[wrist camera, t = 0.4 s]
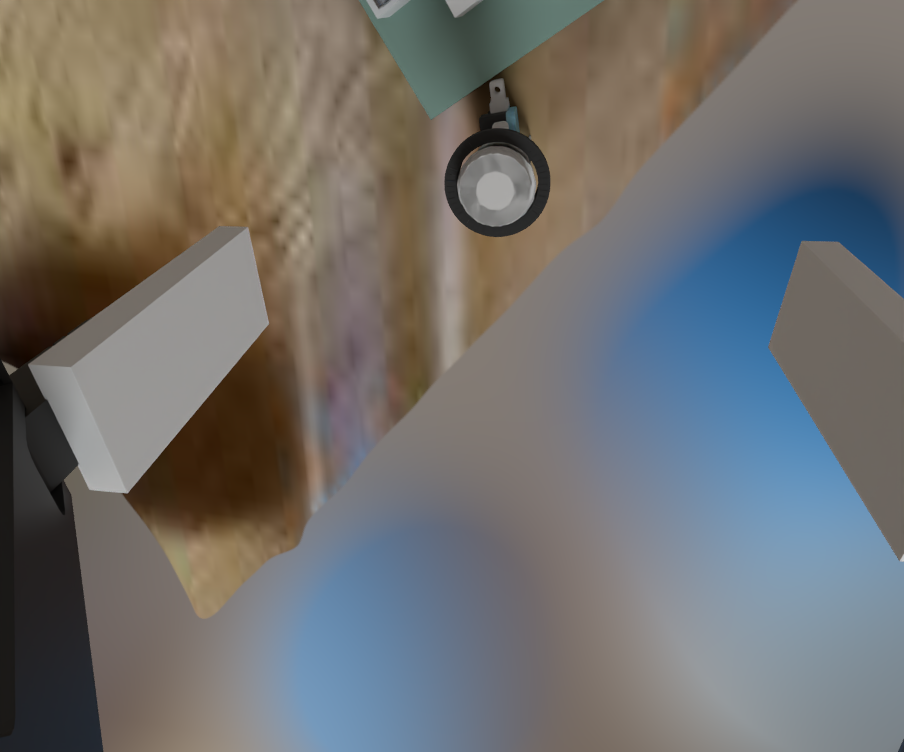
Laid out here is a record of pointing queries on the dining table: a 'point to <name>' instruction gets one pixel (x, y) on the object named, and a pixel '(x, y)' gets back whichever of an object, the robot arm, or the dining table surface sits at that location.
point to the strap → (381, 3)
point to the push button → (497, 174)
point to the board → (465, 40)
